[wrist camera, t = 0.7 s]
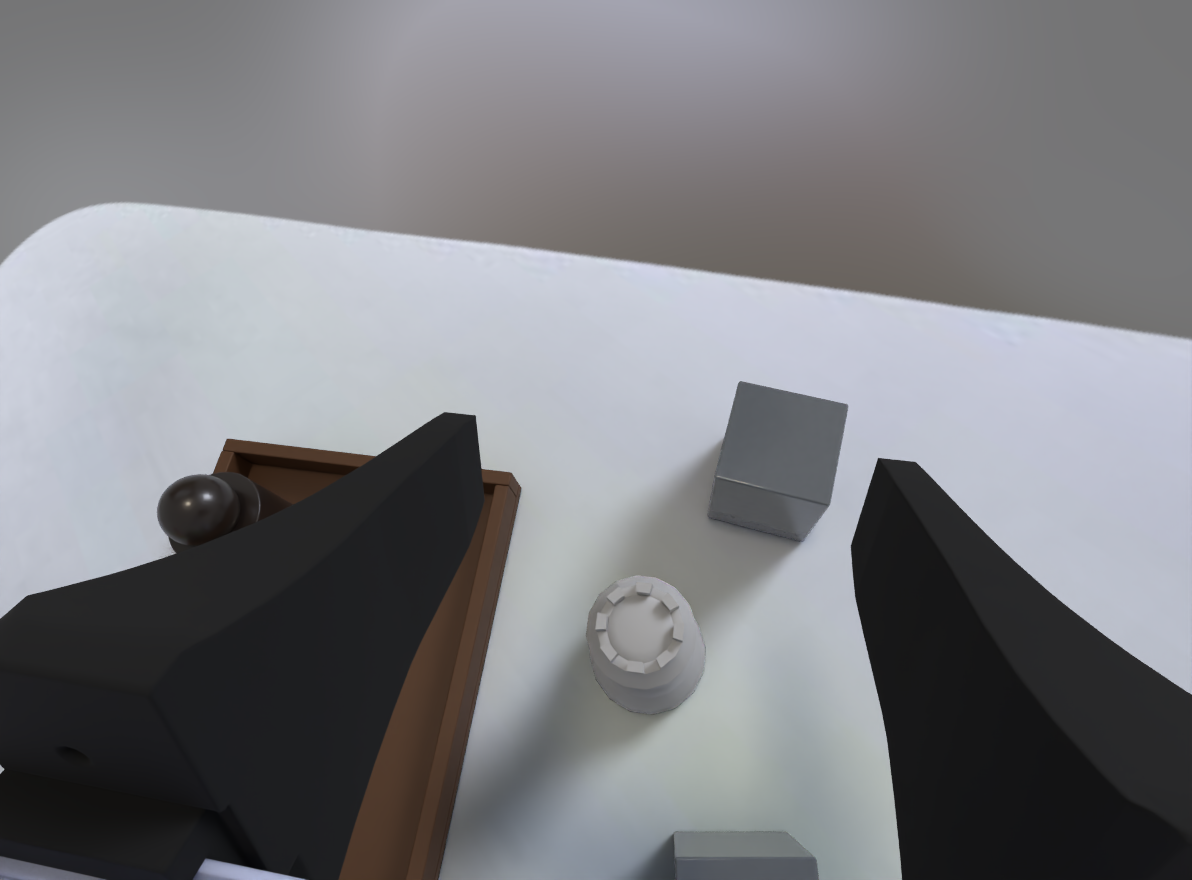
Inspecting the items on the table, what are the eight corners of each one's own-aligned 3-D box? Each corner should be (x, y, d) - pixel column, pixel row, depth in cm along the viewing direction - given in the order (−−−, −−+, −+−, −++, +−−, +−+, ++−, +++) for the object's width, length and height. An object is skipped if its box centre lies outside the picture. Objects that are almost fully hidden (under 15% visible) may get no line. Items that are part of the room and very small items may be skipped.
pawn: (301, 592, 28) (202, 557, 22) (224, 580, 29) (108, 542, 23) (327, 510, 29) (240, 457, 23) (254, 500, 30) (150, 445, 24)
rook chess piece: (572, 627, 27) (536, 591, 20) (670, 576, 27) (671, 522, 20) (623, 736, 25) (604, 742, 18) (727, 680, 26) (750, 663, 18)
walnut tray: (422, 955, 23) (401, 975, 21) (91, 876, 25) (46, 888, 23) (521, 487, 29) (511, 472, 28) (252, 454, 31) (226, 437, 30)
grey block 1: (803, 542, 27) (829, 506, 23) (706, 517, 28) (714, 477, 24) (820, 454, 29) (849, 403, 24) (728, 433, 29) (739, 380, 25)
